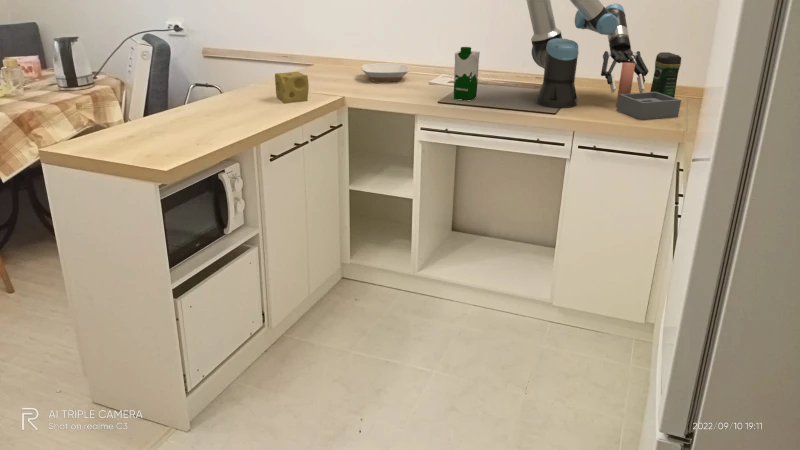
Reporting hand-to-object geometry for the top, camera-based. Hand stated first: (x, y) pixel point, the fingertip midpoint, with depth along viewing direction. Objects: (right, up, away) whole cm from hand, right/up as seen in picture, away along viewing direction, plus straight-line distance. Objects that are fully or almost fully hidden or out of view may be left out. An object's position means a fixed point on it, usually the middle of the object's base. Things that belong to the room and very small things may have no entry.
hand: (627, 90), depth 237 cm
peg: (0, -5, +5) cm, 7 cm away
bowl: (-92, +15, +49) cm, 105 cm away
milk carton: (-59, 0, +15) cm, 61 cm away
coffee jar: (+18, -1, +14) cm, 23 cm away
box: (+5, -9, -4) cm, 12 cm away
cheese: (-127, -1, +12) cm, 128 cm away
